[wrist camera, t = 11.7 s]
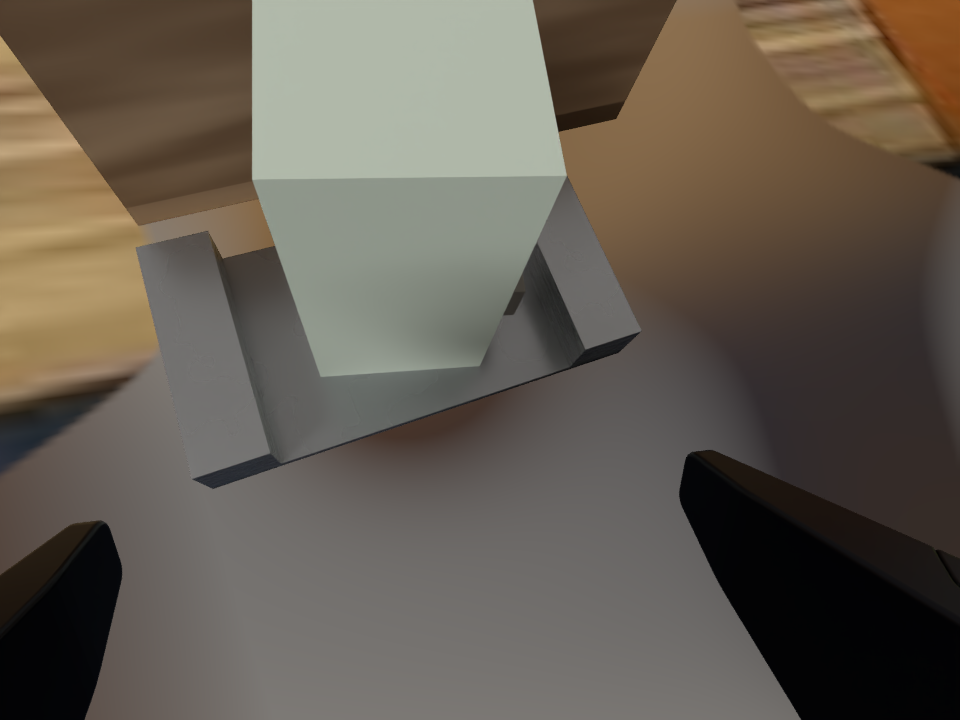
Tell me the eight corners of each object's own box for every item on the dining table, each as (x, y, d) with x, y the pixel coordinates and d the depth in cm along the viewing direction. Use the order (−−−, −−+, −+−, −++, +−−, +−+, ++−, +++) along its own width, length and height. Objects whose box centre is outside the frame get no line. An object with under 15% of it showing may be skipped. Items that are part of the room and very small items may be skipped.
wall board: (616, 118, 24) (740, -125, 16) (138, 225, 19) (-51, -36, 11) (584, 57, 25) (685, -206, 16) (119, 146, 20) (-71, -152, 12)
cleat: (618, 352, 20) (641, 330, 19) (212, 489, 17) (191, 479, 15) (540, 185, 22) (555, 150, 20) (160, 279, 19) (135, 247, 17)
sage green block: (503, 364, 19) (611, 175, 10) (320, 377, 18) (251, 179, 9) (488, 255, 21) (572, -3, 11) (316, 261, 20) (252, -17, 10)
